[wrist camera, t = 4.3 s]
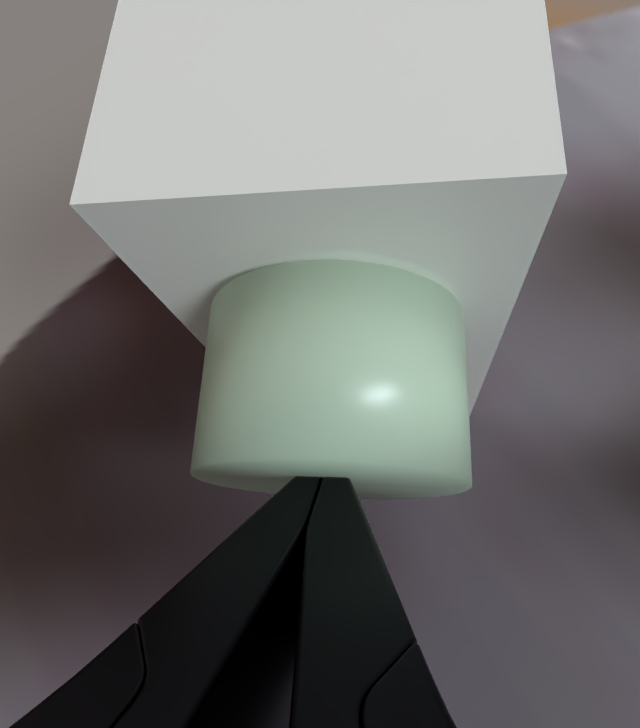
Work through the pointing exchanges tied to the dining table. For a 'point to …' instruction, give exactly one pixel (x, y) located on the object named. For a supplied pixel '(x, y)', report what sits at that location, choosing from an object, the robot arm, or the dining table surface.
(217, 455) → the sage button
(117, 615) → the dining table surface
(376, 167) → the sage button housing
